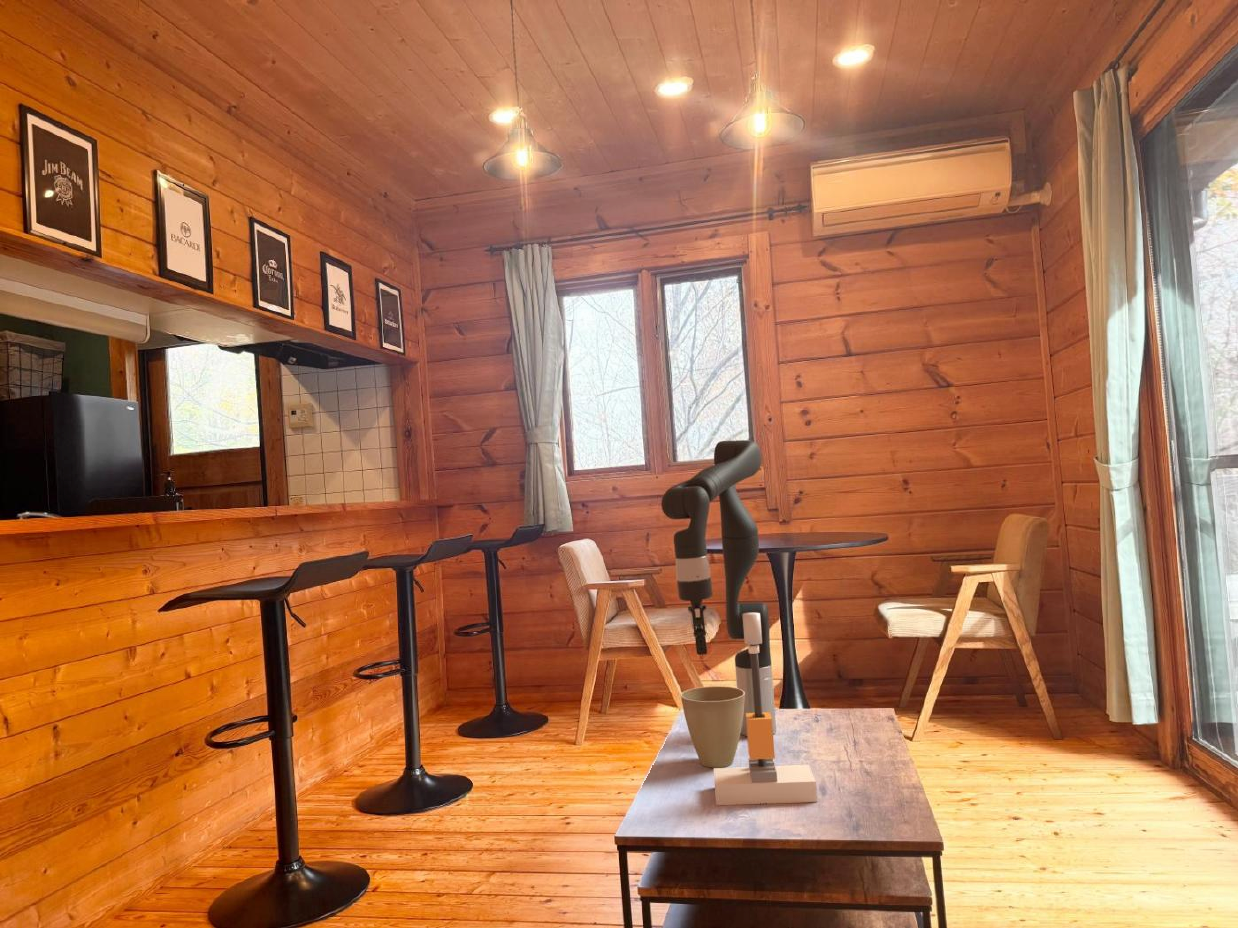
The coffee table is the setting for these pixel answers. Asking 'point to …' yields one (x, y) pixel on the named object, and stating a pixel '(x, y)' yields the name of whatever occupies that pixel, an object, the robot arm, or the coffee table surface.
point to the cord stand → (762, 775)
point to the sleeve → (760, 736)
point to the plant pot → (714, 722)
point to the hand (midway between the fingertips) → (701, 649)
